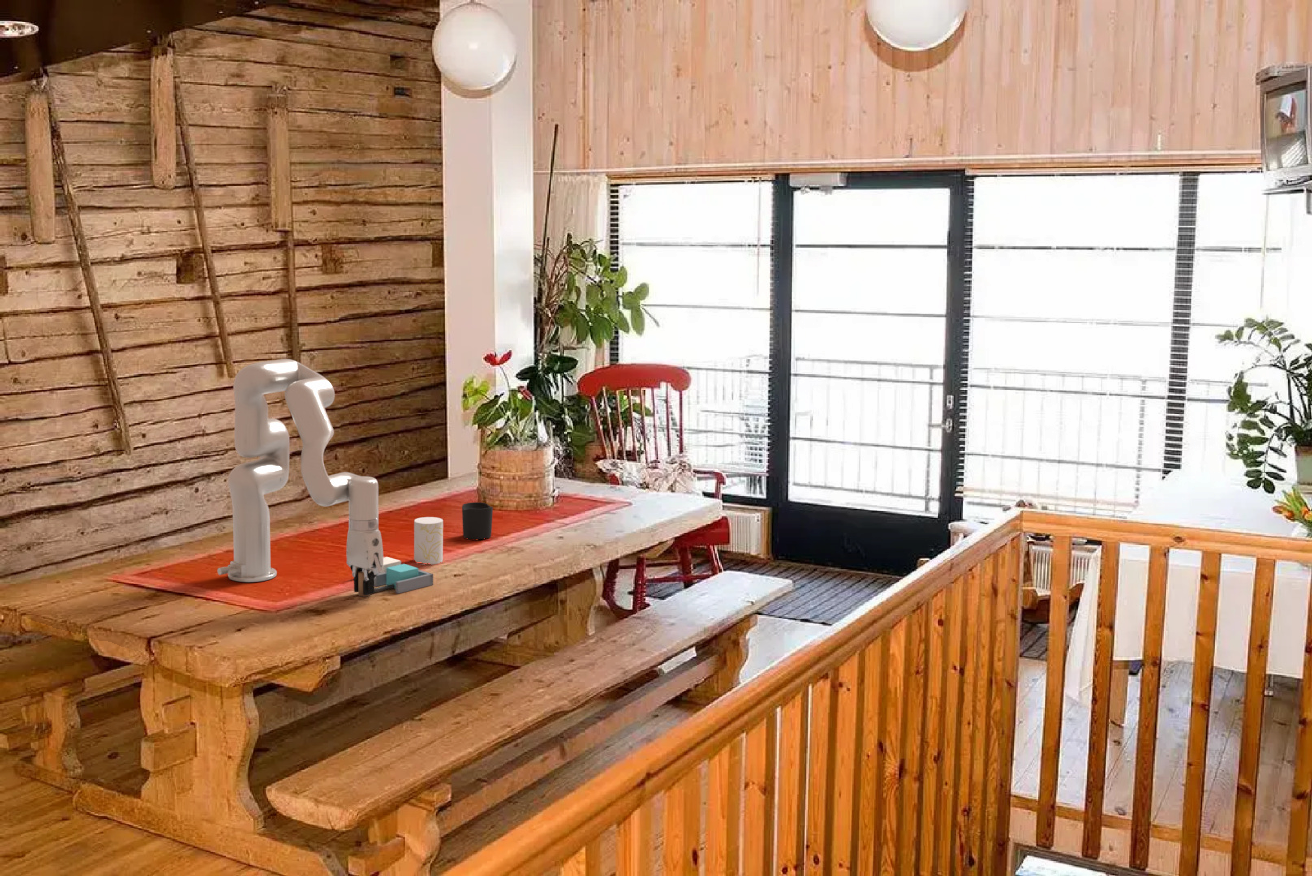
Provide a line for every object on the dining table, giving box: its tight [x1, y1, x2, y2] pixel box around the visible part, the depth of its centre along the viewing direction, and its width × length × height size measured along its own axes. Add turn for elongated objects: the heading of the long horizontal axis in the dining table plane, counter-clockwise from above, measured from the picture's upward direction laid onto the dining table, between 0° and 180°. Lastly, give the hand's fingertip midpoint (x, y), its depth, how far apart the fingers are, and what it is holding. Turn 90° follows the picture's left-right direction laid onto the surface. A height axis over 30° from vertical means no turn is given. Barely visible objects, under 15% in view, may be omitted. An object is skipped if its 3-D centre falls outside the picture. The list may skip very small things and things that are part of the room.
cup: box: [413, 516, 444, 565], centre depth 375 cm, size 8×8×12 cm
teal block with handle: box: [357, 563, 419, 597], centre depth 346 cm, size 17×6×6 cm, turn 139°
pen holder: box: [461, 501, 494, 540], centre depth 404 cm, size 9×9×10 cm
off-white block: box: [370, 556, 402, 574], centre depth 357 cm, size 6×6×5 cm
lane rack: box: [369, 569, 434, 594], centre depth 354 cm, size 12×19×3 cm, turn 50°
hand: (364, 591), depth 341 cm, fingers closed on teal block with handle, 3 cm apart
